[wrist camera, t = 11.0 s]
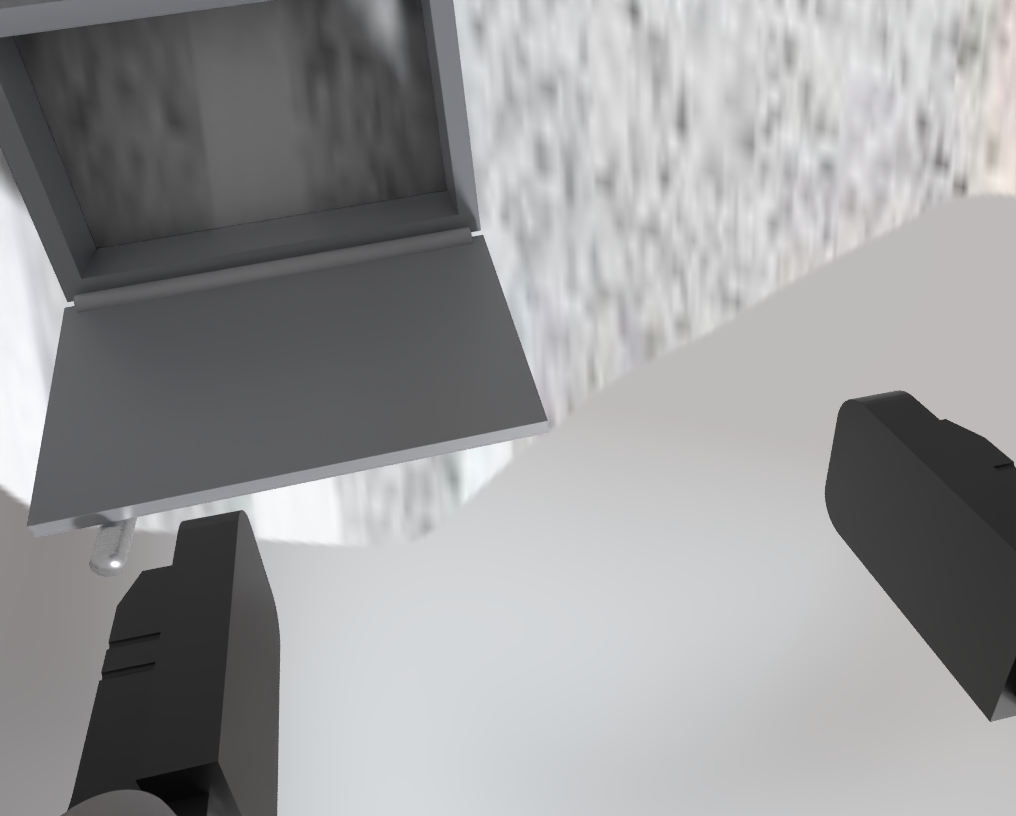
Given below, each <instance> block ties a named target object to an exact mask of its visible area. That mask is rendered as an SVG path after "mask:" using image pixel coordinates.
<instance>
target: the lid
mask: <svg viewBox="0 0 1016 816" xmlns="http://www.w3.org/2000/svg"><path fill="white" fill-rule="evenodd" d="M74 304H75V306H72V307H67V308H65V309H64V315H63V321H62V326H61V332H60V338H59V344H58V349H57V355H56V361H55V367H54V373H53V378H52V384H51V390H50V396H49V401H48V407H47V413H46V419H45V425H44V430H43V436H42V442H41V448H40V454H39V459H38V465H37V471H36V477H35V482H34V488H33V494H32V500H31V506H30V512H29V517H28V523H27V527H28V529H29V530H30V531H31V532H32V533H33V535H34V536H35V537H41V536H46V535H51V534H56V533H61V532H66V531H71V530H76V529H80V528H85V527H90V526H95V525H100V524H105V523H110V522H115V521H120V520H125V519H129V518H134V517H139V516H144V515H149V514H154V513H159V512H164V511H169V510H173V509H178V508H183V507H188V506H193V505H198V504H203V503H208V502H212V501H217V500H222V499H227V498H232V497H237V496H242V495H247V494H251V493H256V492H261V491H266V490H271V489H276V488H281V487H286V486H290V485H295V484H300V483H305V482H310V481H315V480H320V479H325V478H330V477H334V476H339V475H344V474H349V473H354V472H359V471H364V470H369V469H373V468H378V467H383V466H388V465H393V464H398V463H403V462H408V461H412V460H417V459H422V458H427V457H432V456H437V455H442V454H447V453H451V452H456V451H461V450H466V449H471V448H476V447H481V446H486V445H491V444H495V443H500V442H505V441H510V440H515V439H520V438H525V437H530V436H534V435H539V434H544V433H548V420H547V417H546V414H545V412H544V409H543V406H542V403H541V400H540V397H539V394H538V391H537V389H536V386H535V383H534V380H533V377H532V374H531V371H530V368H529V366H528V363H527V360H526V357H525V354H524V351H523V348H522V345H521V343H520V340H519V337H518V334H517V331H516V328H515V325H514V322H513V320H512V317H511V314H510V311H509V308H508V305H507V302H506V299H505V297H504V294H503V291H502V288H501V285H500V282H499V279H498V276H497V274H496V271H495V268H494V265H493V262H492V259H491V256H490V253H489V250H488V248H487V245H486V242H485V239H484V236H483V235H480V236H474V237H472V235H471V230H470V228H469V227H465V228H460V229H454V230H448V231H442V232H437V233H431V234H425V235H419V236H413V237H408V238H402V239H396V240H390V241H384V242H379V243H373V244H367V245H361V246H355V247H350V248H344V249H338V250H332V251H327V252H321V253H315V254H309V255H303V256H298V257H292V258H286V259H280V260H274V261H269V262H263V263H257V264H251V265H246V266H240V267H234V268H228V269H222V270H217V271H211V272H205V273H199V274H193V275H188V276H182V277H176V278H170V279H164V280H159V281H153V282H147V283H141V284H136V285H130V286H124V287H118V288H112V289H107V290H101V291H95V292H89V293H83V294H78V295H75V296H74Z"/></svg>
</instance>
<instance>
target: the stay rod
mask: <svg viewBox="0 0 1016 816" xmlns="http://www.w3.org/2000/svg"><path fill="white" fill-rule="evenodd" d="M136 519H137V517H134V518H129V519H125V520H120V521H115V522H110V523H105V524H100V527H99V531H98V534H97V538H96V541H95V545H94V548H93V552H92V555H91V558H90V562H89V565H90V568H91V570H92V571H93V572H94V573H96V574H98V575H100V576H104V577H112V576H116V575H119V574H120V573H121V572H123V571H124V569H125V566H126V562H127V558H128V553H129V549H130V545H131V541H132V536H133V532H134V528H135V524H136Z"/></svg>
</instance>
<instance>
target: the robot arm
mask: <svg viewBox="0 0 1016 816" xmlns="http://www.w3.org/2000/svg"><path fill="white" fill-rule="evenodd" d="M825 500H826V506H827V510H828V514H829V517H830V519H831V521H832V524H833V525H834V527H835V529H836V531H837V532H838V533H839V535H840V536H841V537H842V538H843V540H844V541H845V542H846V543H847V545H848V546H849V547H850V548H851V550H852V551H853V552H854V553H855V554H856V556H857V557H858V558H859V560H860V561H861V562H862V563H863V565H864V566H865V567H866V568H867V569H868V571H869V572H870V573H871V574H872V576H873V577H874V578H875V579H876V581H877V582H878V583H879V584H880V586H881V587H882V588H883V589H884V591H885V592H886V593H887V594H888V596H889V597H890V598H891V599H892V601H893V602H894V603H895V604H896V605H897V607H898V608H899V609H900V610H901V612H902V613H903V614H904V615H905V617H906V618H907V619H908V620H909V622H910V623H911V624H912V625H913V626H914V628H915V629H916V630H917V632H918V633H919V634H920V635H921V637H922V638H923V639H924V640H925V641H926V643H927V644H928V645H929V646H930V648H931V649H932V650H933V651H934V653H935V654H936V655H937V656H938V658H939V659H940V660H941V661H942V663H943V664H944V665H945V666H946V668H947V669H948V670H949V671H950V673H951V674H952V675H953V676H954V677H955V679H956V680H957V681H958V682H959V684H960V685H961V686H962V687H963V689H964V690H965V691H966V692H967V694H969V696H970V697H971V699H972V700H973V701H974V702H975V704H976V705H977V706H978V707H979V709H981V711H982V712H983V713H984V715H985V716H986V717H987V718H988V720H989V721H990V722H992V721H996V720H999V719H1003V718H1008V717H1012V716H1016V468H1015V466H1014V462H1013V461H1012V460H1011V459H1009V458H1008V457H1007V456H1006V455H1005V454H1004V453H1002V452H1001V451H1000V450H999V449H998V448H997V447H995V446H994V445H993V444H992V443H991V442H989V441H988V440H987V439H986V438H984V437H982V436H980V435H978V434H976V433H974V432H972V431H970V430H968V429H965V428H963V427H961V426H959V425H957V424H955V423H953V422H951V421H948V420H947V419H944V420H939V419H938V418H937V417H936V416H935V415H933V414H932V413H931V412H930V411H929V410H928V409H927V408H925V407H924V406H923V405H922V404H921V403H920V402H919V401H917V400H916V399H915V398H914V397H913V396H911V395H910V394H909V393H907V392H904V391H894V392H888V393H882V394H877V395H872V396H866V397H861V398H856V399H850V400H848V401H845V402H844V403H843V404H842V406H841V408H840V410H839V413H838V417H837V423H836V429H835V434H834V440H833V446H832V451H831V457H830V463H829V469H828V474H827V480H826V486H825ZM101 673H102V680H101V681H99V685H98V689H97V693H96V697H95V702H94V706H93V710H92V714H91V719H90V723H89V727H88V731H87V736H86V740H85V744H84V748H83V752H82V757H81V761H80V765H79V769H78V773H77V778H76V782H75V786H74V790H73V794H72V798H71V802H70V804H69V808H68V810H67V812H65V813H64V814H62V815H61V816H277V792H278V791H277V790H278V788H277V787H278V737H279V679H280V633H279V623H278V618H277V611H276V606H275V602H274V597H273V594H272V591H271V588H270V584H269V582H268V578H267V575H266V572H265V569H264V566H263V562H262V559H261V556H260V553H259V550H258V547H257V543H256V540H255V537H254V534H253V531H252V527H251V524H250V521H249V519H248V516H247V515H246V513H245V512H244V511H243V510H241V511H235V512H230V513H225V514H219V515H214V516H208V517H203V518H197V519H192V520H187V521H183V522H181V524H180V526H179V530H178V535H177V541H176V547H175V552H174V558H173V564H172V566H167V567H162V568H156V569H151V570H146V571H142V573H141V574H140V575H139V577H138V578H137V580H136V581H135V582H134V584H133V585H132V586H131V588H130V589H129V591H128V592H127V593H126V594H125V596H124V597H123V599H122V600H121V602H120V603H119V604H118V606H117V609H116V613H115V618H114V621H113V626H112V630H111V634H110V639H109V649H108V650H107V651H106V655H105V660H104V664H103V668H102V672H101Z"/></svg>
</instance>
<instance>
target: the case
mask: <svg viewBox="0 0 1016 816" xmlns="http://www.w3.org/2000/svg"><path fill="white" fill-rule="evenodd" d="M265 1H272V0H0V146H1V149H2V151H3V153H4V156H5V158H6V160H7V163H8V165H9V167H10V170H11V172H12V174H13V177H14V179H15V181H16V184H17V186H18V188H19V190H20V193H21V195H22V197H23V200H24V202H25V204H26V207H27V209H28V211H29V214H30V216H31V218H32V221H33V223H34V225H35V228H36V230H37V232H38V235H39V237H40V239H41V242H42V244H43V246H44V249H45V251H46V253H47V255H48V258H49V260H50V262H51V265H52V267H53V269H54V272H55V274H56V276H57V279H58V281H59V283H60V286H61V288H62V290H63V293H64V295H65V297H66V300H67V302H71V301H74V296H75V295H78V294H83V293H89V292H95V291H101V290H107V289H112V288H118V287H124V286H130V285H136V284H141V283H147V282H153V281H159V280H164V279H170V278H176V277H182V276H188V275H193V274H199V273H205V272H211V271H217V270H222V269H228V268H234V267H240V266H246V265H251V264H257V263H263V262H269V261H274V260H280V259H286V258H292V257H298V256H303V255H309V254H315V253H321V252H327V251H332V250H338V249H344V248H350V247H355V246H361V245H367V244H373V243H379V242H384V241H390V240H396V239H402V238H408V237H413V236H419V235H425V234H431V233H437V232H442V231H448V230H454V229H460V228H465V227H469V228H470V230H471V232H474V231H480V230H481V228H480V220H479V211H478V203H477V195H476V187H475V178H474V170H473V162H472V153H471V145H470V137H469V129H468V120H467V112H466V104H465V96H464V87H463V79H462V71H461V62H460V54H459V46H458V38H457V29H456V21H455V13H454V5H453V0H421V6H422V13H423V21H424V28H425V35H426V42H427V49H428V56H429V63H430V70H431V78H432V85H433V92H434V99H435V106H436V113H437V120H438V127H439V135H440V142H441V149H442V156H443V163H444V170H445V177H446V185H447V190H446V191H440V192H434V193H428V194H422V195H416V196H410V197H404V198H398V199H392V200H386V201H380V202H374V203H368V204H362V205H356V206H350V207H344V208H339V209H333V210H327V211H321V212H315V213H309V214H303V215H297V216H291V217H285V218H279V219H273V220H267V221H261V222H255V223H249V224H243V225H237V226H231V227H225V228H219V229H213V230H207V231H201V232H195V233H189V234H183V235H177V236H171V237H165V238H159V239H153V240H147V241H141V242H135V243H129V244H123V245H117V246H111V247H105V248H99V249H97V248H96V246H95V243H94V241H93V238H92V236H91V233H90V231H89V228H88V226H87V223H86V221H85V218H84V215H83V213H82V210H81V208H80V205H79V203H78V200H77V198H76V195H75V193H74V190H73V188H72V185H71V182H70V180H69V177H68V175H67V172H66V170H65V167H64V165H63V162H62V160H61V157H60V155H59V152H58V149H57V147H56V144H55V142H54V139H53V137H52V134H51V132H50V129H49V127H48V124H47V122H46V119H45V116H44V114H43V111H42V109H41V106H40V104H39V101H38V99H37V96H36V94H35V91H34V89H33V86H32V83H31V81H30V78H29V76H28V73H27V71H26V68H25V66H24V63H23V61H22V58H21V56H20V53H19V50H18V48H17V45H16V43H15V40H14V38H13V36H15V35H23V34H30V33H37V32H45V31H52V30H59V29H67V28H74V27H81V26H89V25H96V24H103V23H111V22H118V21H126V20H133V19H140V18H148V17H155V16H162V15H170V14H177V13H184V12H192V11H199V10H206V9H214V8H221V7H228V6H236V5H243V4H250V3H258V2H265Z"/></svg>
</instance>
